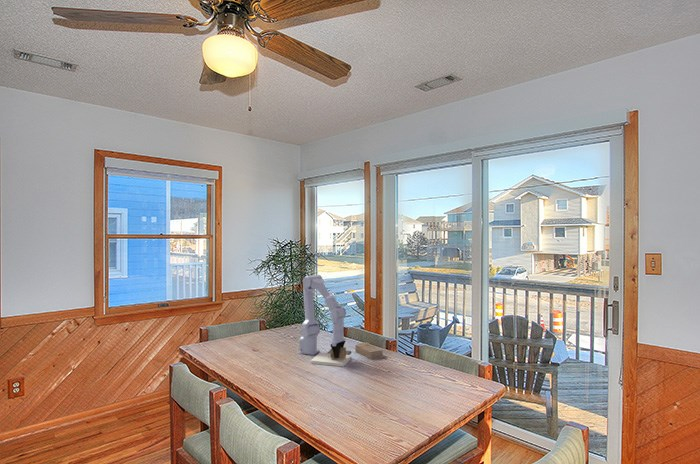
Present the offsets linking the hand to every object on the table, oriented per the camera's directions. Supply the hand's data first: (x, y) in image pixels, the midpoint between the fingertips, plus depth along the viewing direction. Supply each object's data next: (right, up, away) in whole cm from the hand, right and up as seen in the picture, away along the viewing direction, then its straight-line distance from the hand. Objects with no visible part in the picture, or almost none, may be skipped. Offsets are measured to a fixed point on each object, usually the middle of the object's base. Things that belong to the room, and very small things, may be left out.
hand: (338, 356), depth 197 cm
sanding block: (0, -1, 0) cm, 1 cm away
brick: (+17, -3, +12) cm, 21 cm away
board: (-4, -3, +1) cm, 5 cm away
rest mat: (0, -3, +14) cm, 14 cm away
